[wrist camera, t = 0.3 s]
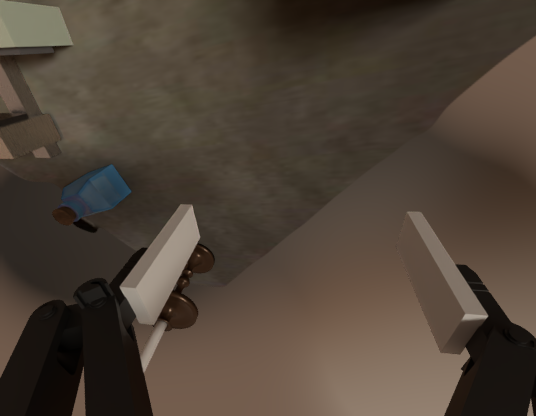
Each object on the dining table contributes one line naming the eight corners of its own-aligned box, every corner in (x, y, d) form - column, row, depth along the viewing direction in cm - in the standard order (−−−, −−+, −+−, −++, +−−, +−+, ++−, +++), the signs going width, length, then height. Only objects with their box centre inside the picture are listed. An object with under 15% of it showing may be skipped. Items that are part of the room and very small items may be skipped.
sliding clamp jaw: (15, 9, 36) (-61, 2, 28) (58, 7, 35) (-8, -1, 28) (35, 53, 39) (-29, 56, 31) (75, 51, 38) (19, 54, 30)
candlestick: (171, 265, 62) (53, 463, 33) (174, 232, 56) (34, 441, 27) (214, 278, 63) (135, 483, 34) (222, 247, 57) (135, 466, 28)
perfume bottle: (112, 164, 48) (61, 196, 38) (131, 191, 51) (89, 228, 41) (88, 172, 50) (34, 206, 40) (108, 198, 53) (62, 235, 43)
